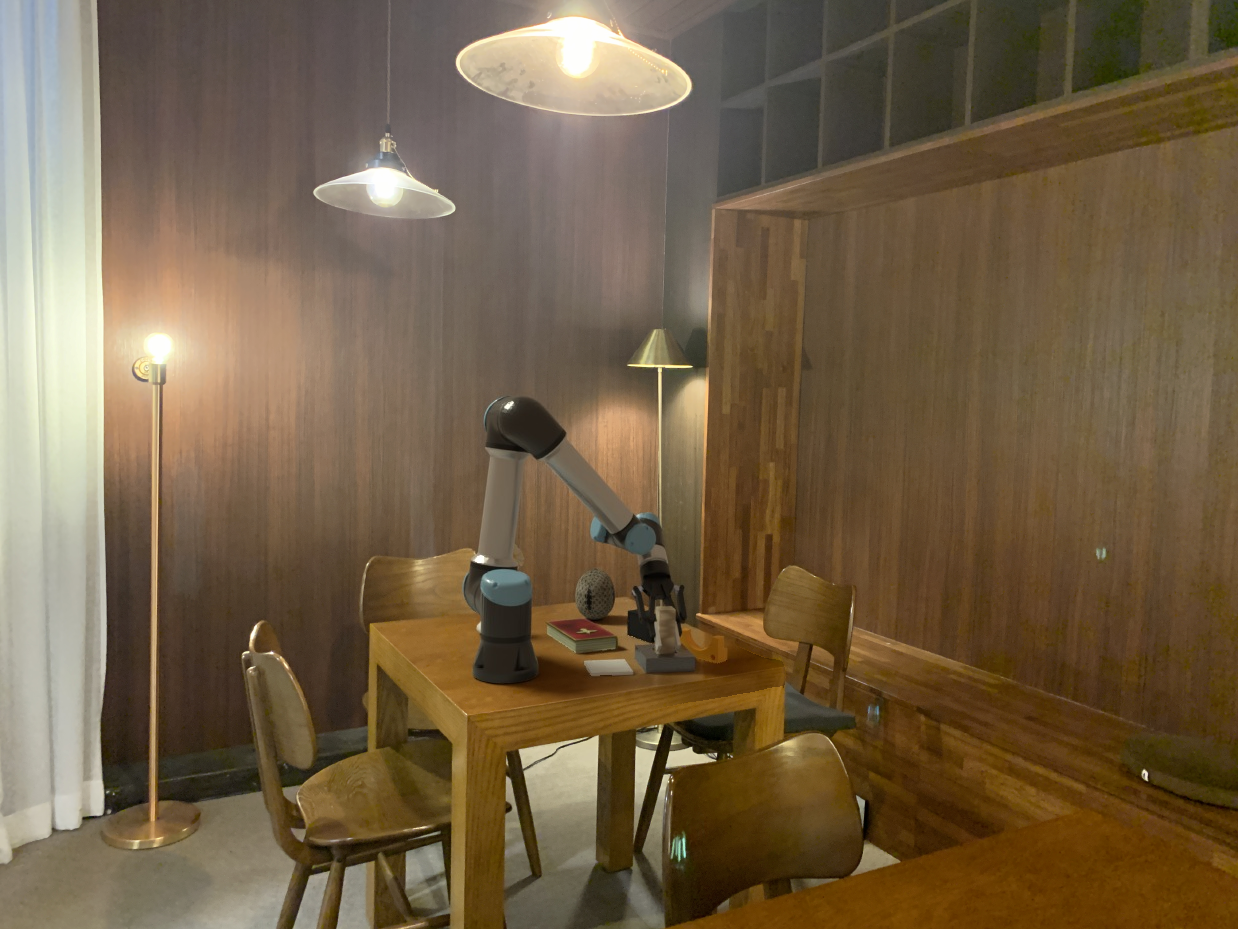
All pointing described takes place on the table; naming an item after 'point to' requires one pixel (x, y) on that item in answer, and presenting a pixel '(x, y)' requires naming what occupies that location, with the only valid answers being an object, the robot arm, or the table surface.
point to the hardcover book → (581, 635)
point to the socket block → (664, 659)
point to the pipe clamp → (705, 648)
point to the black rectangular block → (638, 627)
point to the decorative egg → (595, 594)
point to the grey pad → (608, 667)
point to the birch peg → (666, 628)
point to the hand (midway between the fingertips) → (668, 648)
